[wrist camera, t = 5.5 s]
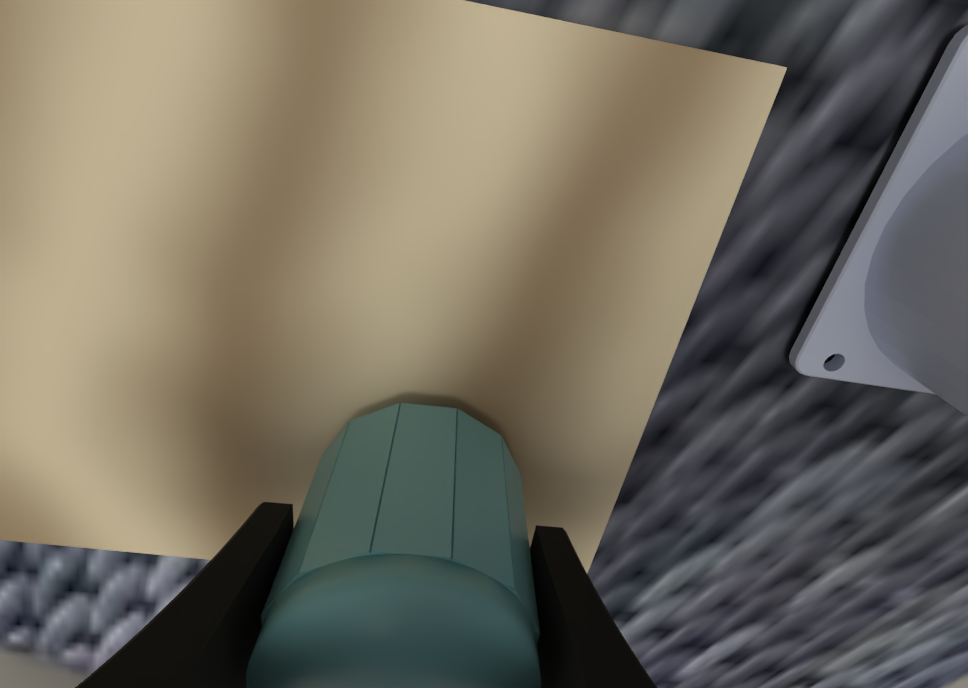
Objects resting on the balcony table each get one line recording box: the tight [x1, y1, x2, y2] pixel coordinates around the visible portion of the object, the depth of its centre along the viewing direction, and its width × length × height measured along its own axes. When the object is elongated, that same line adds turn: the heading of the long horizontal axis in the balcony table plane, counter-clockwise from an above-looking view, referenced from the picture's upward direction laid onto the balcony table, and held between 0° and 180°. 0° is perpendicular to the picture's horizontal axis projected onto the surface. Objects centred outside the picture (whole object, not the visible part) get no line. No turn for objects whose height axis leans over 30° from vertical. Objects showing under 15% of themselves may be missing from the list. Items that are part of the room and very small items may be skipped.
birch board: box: [0, 0, 787, 573], centre depth 13 cm, size 19×15×1 cm
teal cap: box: [246, 403, 541, 688], centre depth 11 cm, size 5×5×5 cm
